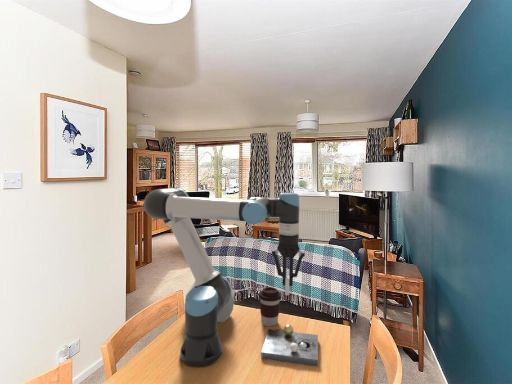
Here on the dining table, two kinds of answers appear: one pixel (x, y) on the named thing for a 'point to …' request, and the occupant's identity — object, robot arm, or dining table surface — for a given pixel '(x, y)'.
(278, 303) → the coffee cup
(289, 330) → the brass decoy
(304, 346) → the steel ball
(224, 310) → the blue grey rounded piece
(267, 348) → the plate
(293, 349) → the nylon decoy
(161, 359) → the dining table surface
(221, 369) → the dining table surface
